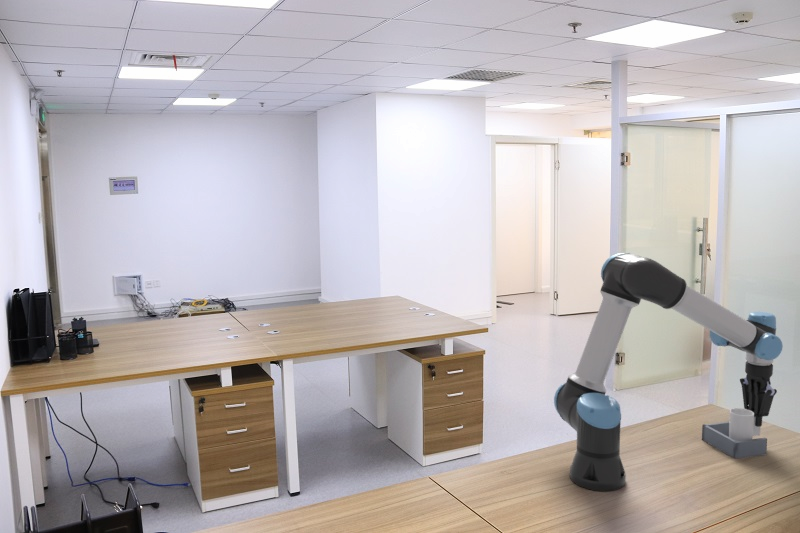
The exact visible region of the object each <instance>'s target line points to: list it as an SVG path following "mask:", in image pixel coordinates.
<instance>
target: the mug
mask: <svg viewBox="0 0 800 533" xmlns="http://www.w3.org/2000/svg"><path fill="white" fill-rule="evenodd" d="M753 424H754V412H752V411H750V410H747V409H744V408H740V407H733V408H730V409H729V437H730V438H731V439H733V440H735V441H742V440H750V439H753V437H754V436H753Z"/></svg>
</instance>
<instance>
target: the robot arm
mask: <svg viewBox="0 0 800 533" xmlns="http://www.w3.org/2000/svg"><path fill="white" fill-rule="evenodd" d="M600 277H601V280H602V285H601V288H600V291H599V292H600V295H601V297H602V301H601V304H600V306H599V309H598V311H597V315H596V316H595V319H594V322H593V325H592V327H591V330H590V333H589V335H588V338H587V341H586V343H585V346H584V349H583V352H582V354H581V357H580V359H579V362H578V365H577V367H576V370H575V372H574V373H572V374H569V375H568V377H567V379H566V382H564V383H563V384H560V386H558V388H557V389H556V391H555V393H554V397H553V403H554V408H555V410H556V412H557V414H558V415H559V417H560V418H561V419H562V420H563V421H564V422H566V423H567V424H568V425H569V426H570V427H571V428H572V429H574V430H575V432H576V452H575V454H574V457H573V460H572V463H571V465H570V468H569V478H570V480H571V481H572V482H573V483H574V482H575V483H576V484H575V483H574V484H575V485H577V486H579V487H580V488H583V489H588V490H591V491H596V492H597V491H599V492H611V491H617V490H619V489H621V488H623V487H624V486H625V484H626V471H625V468H624V465H623V462H622V458H621V456H620V452H621V451H620V449H621V444H620V443H621V422H622V413H621V412H622V411H621V405H620V404H619V402H618V400H616V399H615V398H613V397H612V396H610V395H606V393H607V389H606V387H605V384H604V383H605V381H606V380H605V379H606V377H607V374H608V372H609V370H610V367H611V364H612V361H613V360H614V357H615V353H616V350H617V348H618V346H619V343H620V341H621V339H622V335H623V333H624V329H625V327H626V324H627V322H628V318H630V317H629V316H630V314H631V311H632V309H633V308H636V307H638V306H639V305H640V303H641V301H642V300H643V301H645V302H650V303H651V304H655V305H658V306H660V307H661V308H663V309H665V310H671V309H672V310H673V311H675V312H677V313H679V314H680V315H683V316H684V317H686V318H687V319H689V320H691V321H693V322H695V323H697V324H699V325H700V326H701V327H704V328H705V329H707V330H708V331H709V338H710V340H711V342H712V343H713V345H715V346H717V347H724V348H725V347H732V348H734V349H737V350H740V351H742V352H744V353H745V360H746V362H745V365H744V366H745V367H744V369H745V370H744V371H745V374H746V376H745V377H743V378H740V379H739V382H740V384H741V388H742V389H741V391H742V399H743V400H742V402H743V409H747V410H750V411H752V412H754V424H753V436H752V437H755V436H760V435H761V427H762V426H763V417H768V416H769V414H770V412H771V411H770V410H771V408H772V404H773V400H774V397H775V395H776V394H777V393H778V392H777V389H776V388H773V387H772V385H771V384H772V383H771V377H773V374H774V372H773V371H774V365H773V363H774V360H775V359H777V358H778V357H779V356H780V355H781V354H782V352H783V347H784V346H783V341H782V340H781V338H780V337H779V336H777V335H776V332H777V317H776V316H775V315H774V314H773V313H770V312H764V311H753V312H749V314H748V317H747V319H745V318H743V317H741V316H739V315H738V314H736V313H734V312H733V311H731V310H730V309H727V308H726V307H724V306H722V305H721V304H719V303H717V302H716V301H714V300H712V299H711V298H709V297H707V296H705V294H702V293H700V292H699V291H696V289H694V288H692V287H690V286H688V284H687V281H686V280H685V279H684V278H683V277H680V276H679V275H677V274H676V273H675V272H673V271H671V270H670V269H668V268H667V267H665V266H664V265H662V264H661V263H659V262H657V261H656V260H654V259H652V258H649V257H644V256H640V255H636V254H633V253H630V252H628V253H626V252H619V253H616V254H613V255H611V256H610V257H608V258H607V259H606V260H605V262H603V265H602V266H601V271H600Z"/></svg>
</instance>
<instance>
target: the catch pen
mask: <svg viewBox="0 0 800 533" xmlns="http://www.w3.org/2000/svg"><path fill="white" fill-rule="evenodd" d="M701 429H702V430H701V440H702V441H704V442H705V443H707V444H709V445H710V446H712V447H714V448H716V449H717V450H719V451H721V452H723V453H725V454H726V455H728V456H729V457H732V459H736V460H737V459H743V458H750V457H751V458H752V457H758V456H765V455H767V451H768V450H767V449H768V448H767V447H768V438H767V437H758V438H752V439H750V440H742V441H735V440H733V439H731V438H730V437H729V421H722V422H712V423H704V424H702V428H701Z"/></svg>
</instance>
